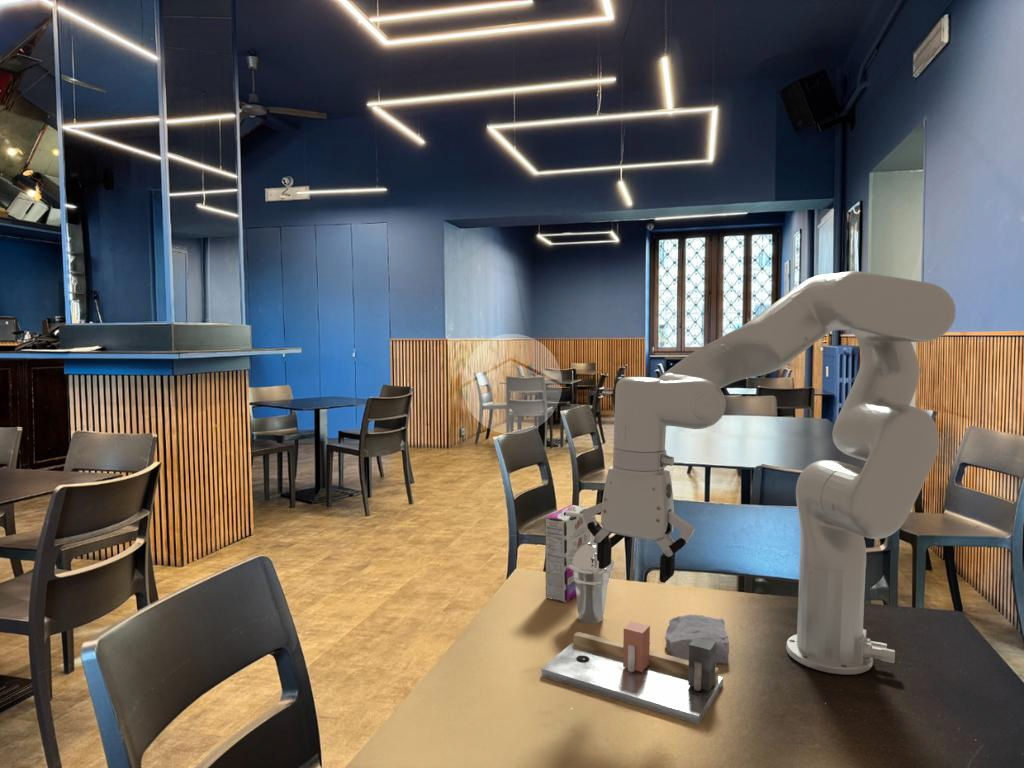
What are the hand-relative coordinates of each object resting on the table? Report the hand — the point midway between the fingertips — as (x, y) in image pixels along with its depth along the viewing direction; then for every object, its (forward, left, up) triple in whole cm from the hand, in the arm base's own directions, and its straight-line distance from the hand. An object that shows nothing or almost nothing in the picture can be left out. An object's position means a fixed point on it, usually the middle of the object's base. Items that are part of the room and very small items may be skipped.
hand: (634, 573), depth 103 cm
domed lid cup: (+15, -15, -16) cm, 27 cm away
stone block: (-5, -15, -17) cm, 23 cm away
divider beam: (0, -1, -15) cm, 15 cm away
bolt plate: (0, +2, -16) cm, 16 cm away
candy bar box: (+24, -24, -16) cm, 38 cm away
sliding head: (0, 0, -14) cm, 14 cm away
